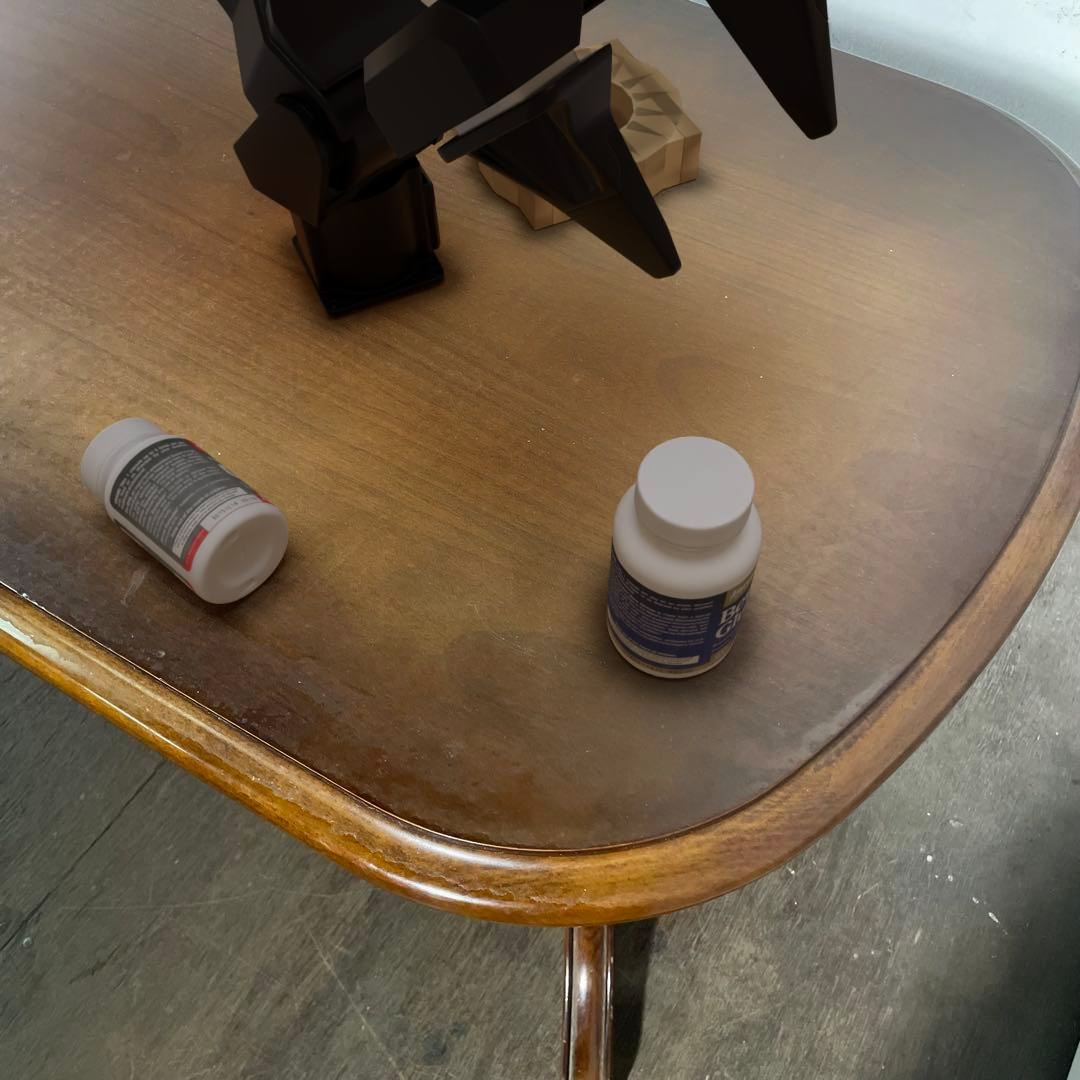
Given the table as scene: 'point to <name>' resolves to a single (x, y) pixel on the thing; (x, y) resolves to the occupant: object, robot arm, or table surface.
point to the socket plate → (628, 134)
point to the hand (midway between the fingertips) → (751, 201)
